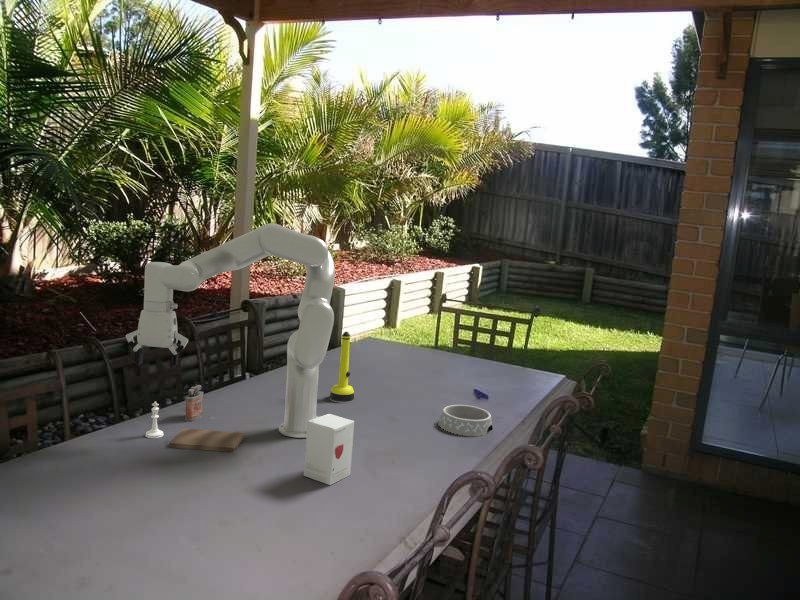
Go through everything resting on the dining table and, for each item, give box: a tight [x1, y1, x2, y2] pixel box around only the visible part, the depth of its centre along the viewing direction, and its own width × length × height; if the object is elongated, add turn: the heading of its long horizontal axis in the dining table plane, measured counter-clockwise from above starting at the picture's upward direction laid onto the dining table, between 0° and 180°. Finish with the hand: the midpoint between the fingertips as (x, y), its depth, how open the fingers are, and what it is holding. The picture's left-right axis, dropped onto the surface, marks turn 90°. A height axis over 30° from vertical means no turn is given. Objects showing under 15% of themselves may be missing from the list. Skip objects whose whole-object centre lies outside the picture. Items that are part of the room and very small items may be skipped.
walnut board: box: [168, 427, 246, 453], centre depth 184 cm, size 18×12×1 cm, turn 90°
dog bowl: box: [437, 404, 494, 437], centre depth 214 cm, size 17×18×5 cm
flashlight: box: [329, 331, 355, 404], centre depth 232 cm, size 25×9×9 cm
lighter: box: [184, 384, 204, 423], centre depth 202 cm, size 8×3×10 cm, turn 168°
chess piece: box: [145, 401, 164, 439], centre depth 185 cm, size 5×5×10 cm
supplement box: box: [303, 413, 355, 486], centre depth 167 cm, size 9×9×15 cm
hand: (156, 365), depth 183 cm, fingers open, 9 cm apart
